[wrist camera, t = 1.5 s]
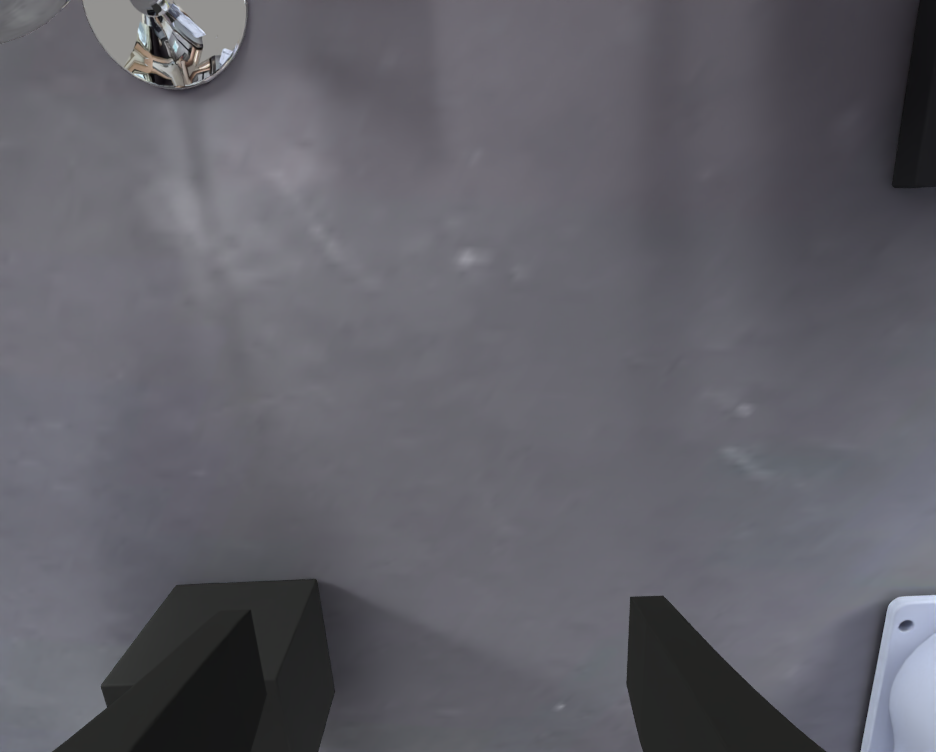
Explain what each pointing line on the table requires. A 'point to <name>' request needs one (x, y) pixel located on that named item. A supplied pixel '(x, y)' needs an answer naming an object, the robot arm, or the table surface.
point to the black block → (279, 643)
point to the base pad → (919, 108)
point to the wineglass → (148, 34)
